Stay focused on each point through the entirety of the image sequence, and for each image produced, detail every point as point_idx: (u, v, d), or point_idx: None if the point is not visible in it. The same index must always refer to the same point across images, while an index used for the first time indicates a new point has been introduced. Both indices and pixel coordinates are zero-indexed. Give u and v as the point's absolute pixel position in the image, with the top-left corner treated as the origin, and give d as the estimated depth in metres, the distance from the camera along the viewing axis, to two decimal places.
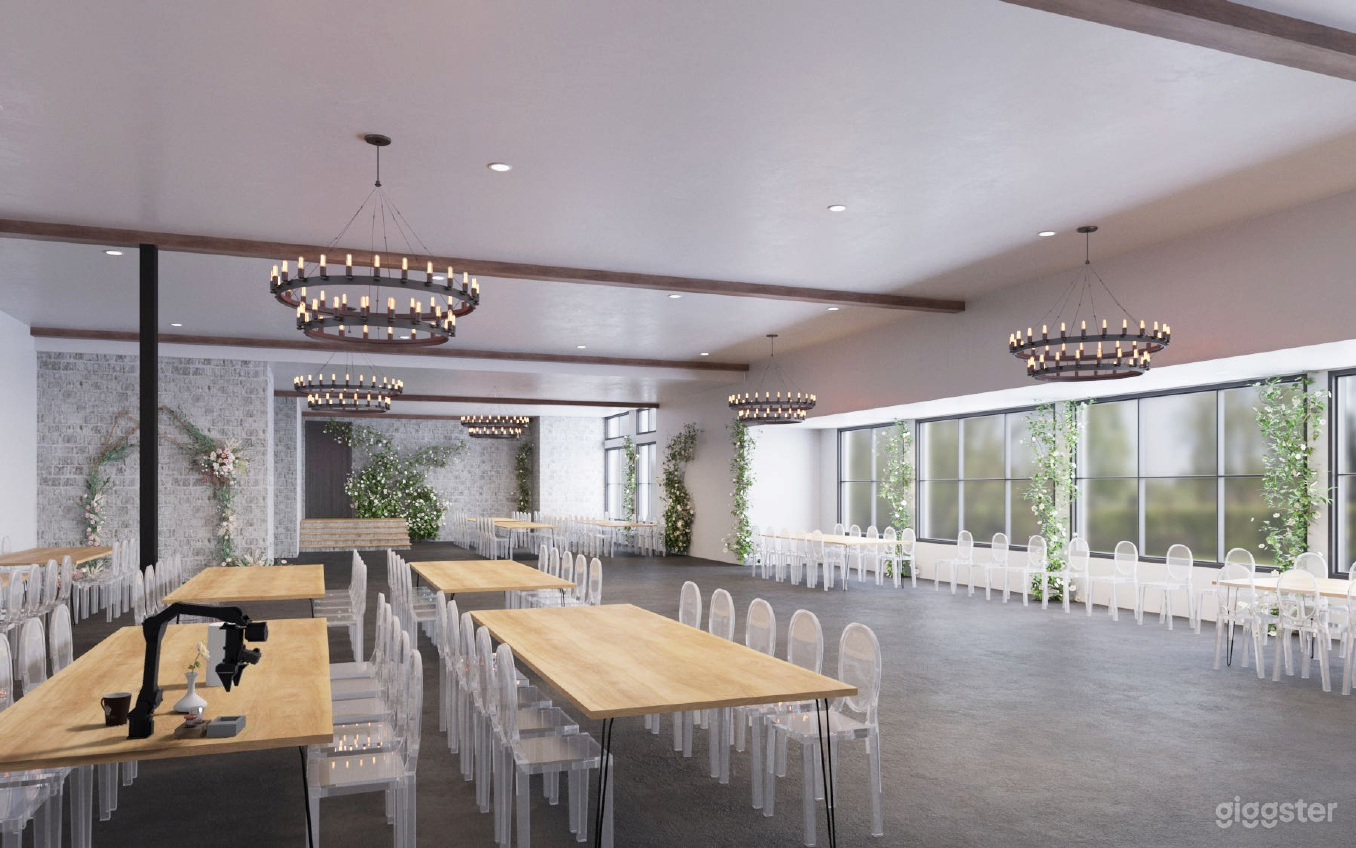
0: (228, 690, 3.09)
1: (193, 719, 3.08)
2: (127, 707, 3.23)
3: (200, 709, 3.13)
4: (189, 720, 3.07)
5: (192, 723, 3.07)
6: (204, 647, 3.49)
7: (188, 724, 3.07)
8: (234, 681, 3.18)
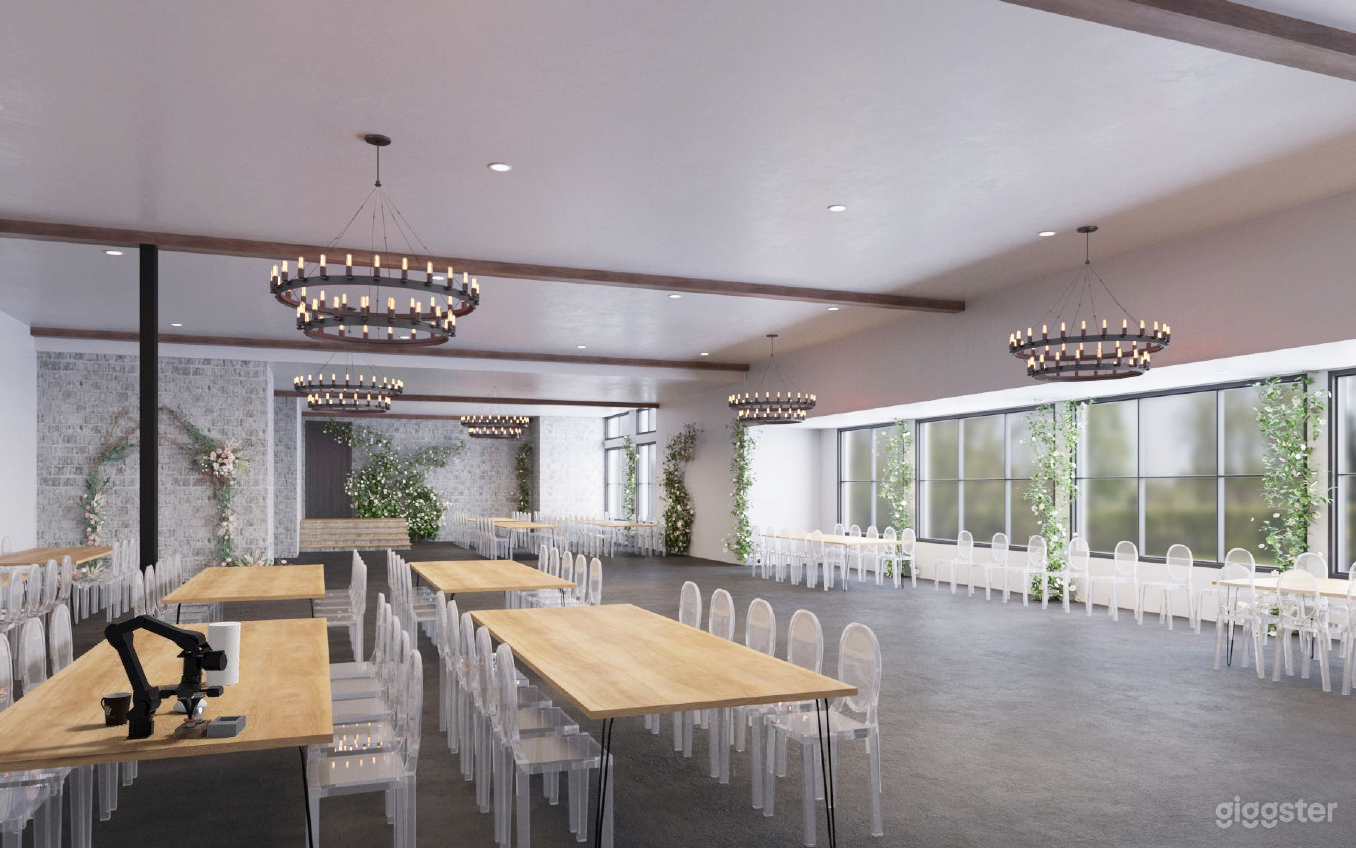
0: None
1: (193, 722, 3.08)
2: (127, 707, 3.23)
3: (200, 709, 3.13)
4: (189, 723, 3.07)
5: (192, 726, 3.07)
6: None
7: (188, 727, 3.07)
8: None
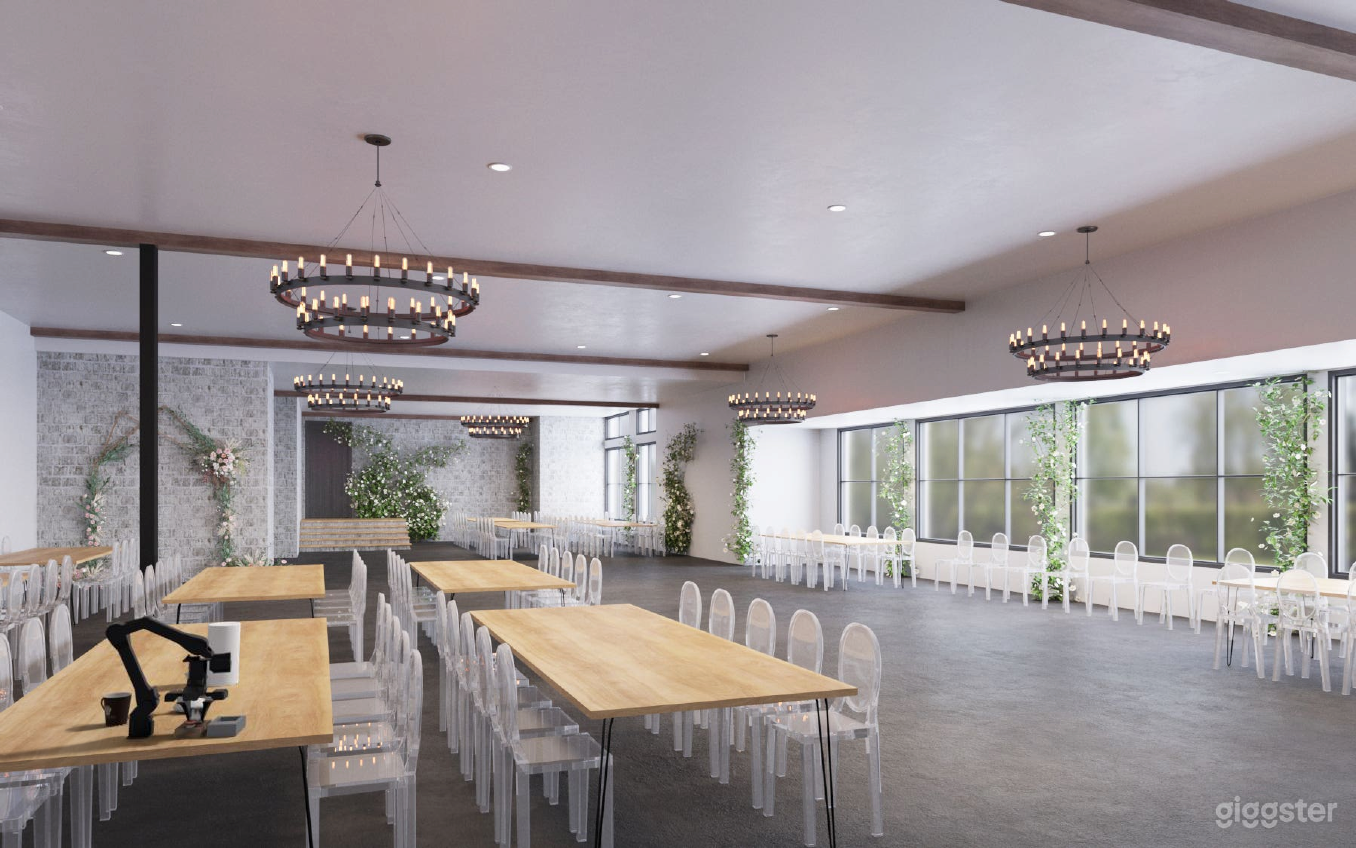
0: None
1: (193, 724, 3.08)
2: (127, 707, 3.23)
3: (200, 709, 3.13)
4: (189, 725, 3.07)
5: None
6: None
7: None
8: None
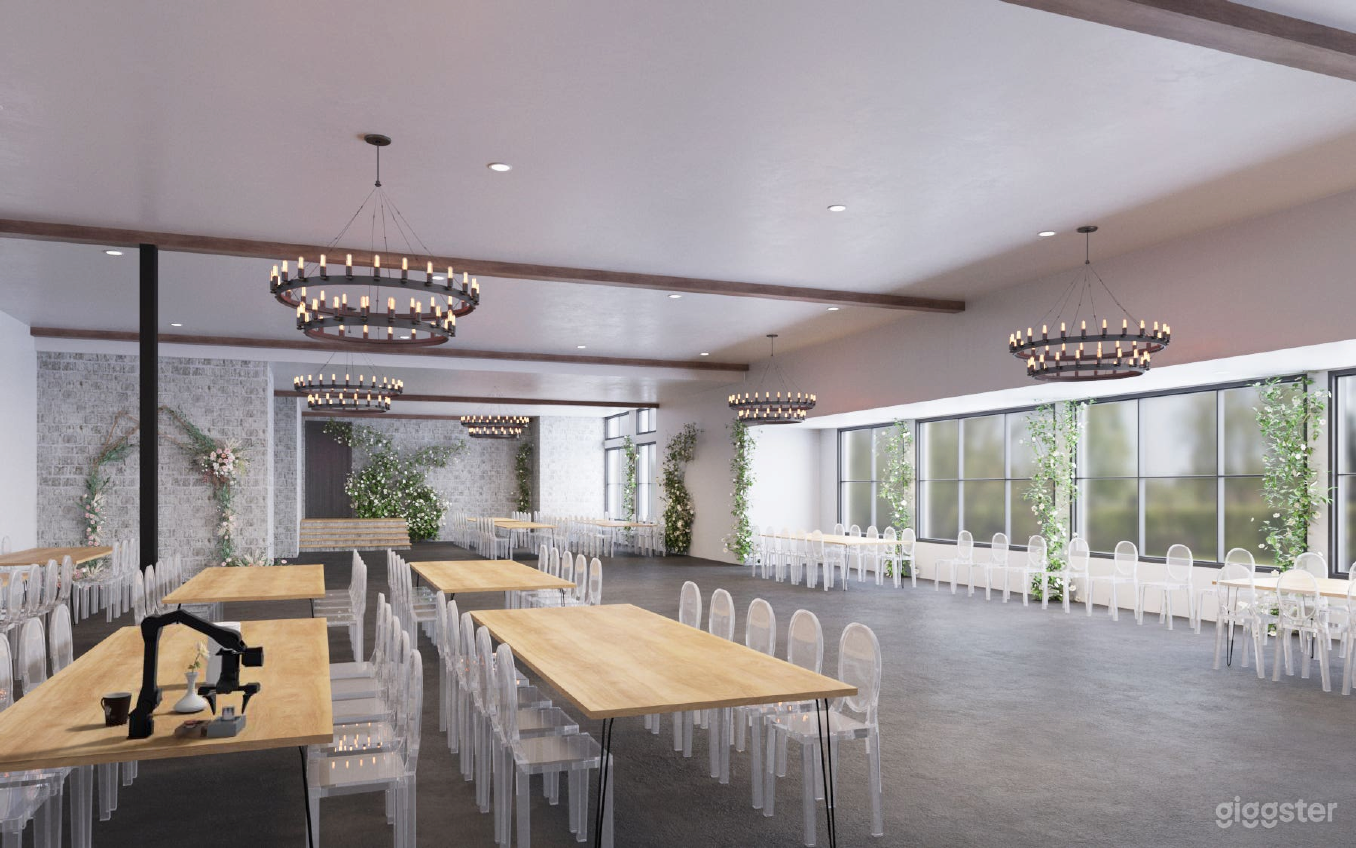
0: None
1: (193, 724, 3.08)
2: (127, 707, 3.23)
3: (232, 708, 3.14)
4: (189, 725, 3.07)
5: None
6: (204, 647, 3.49)
7: None
8: None
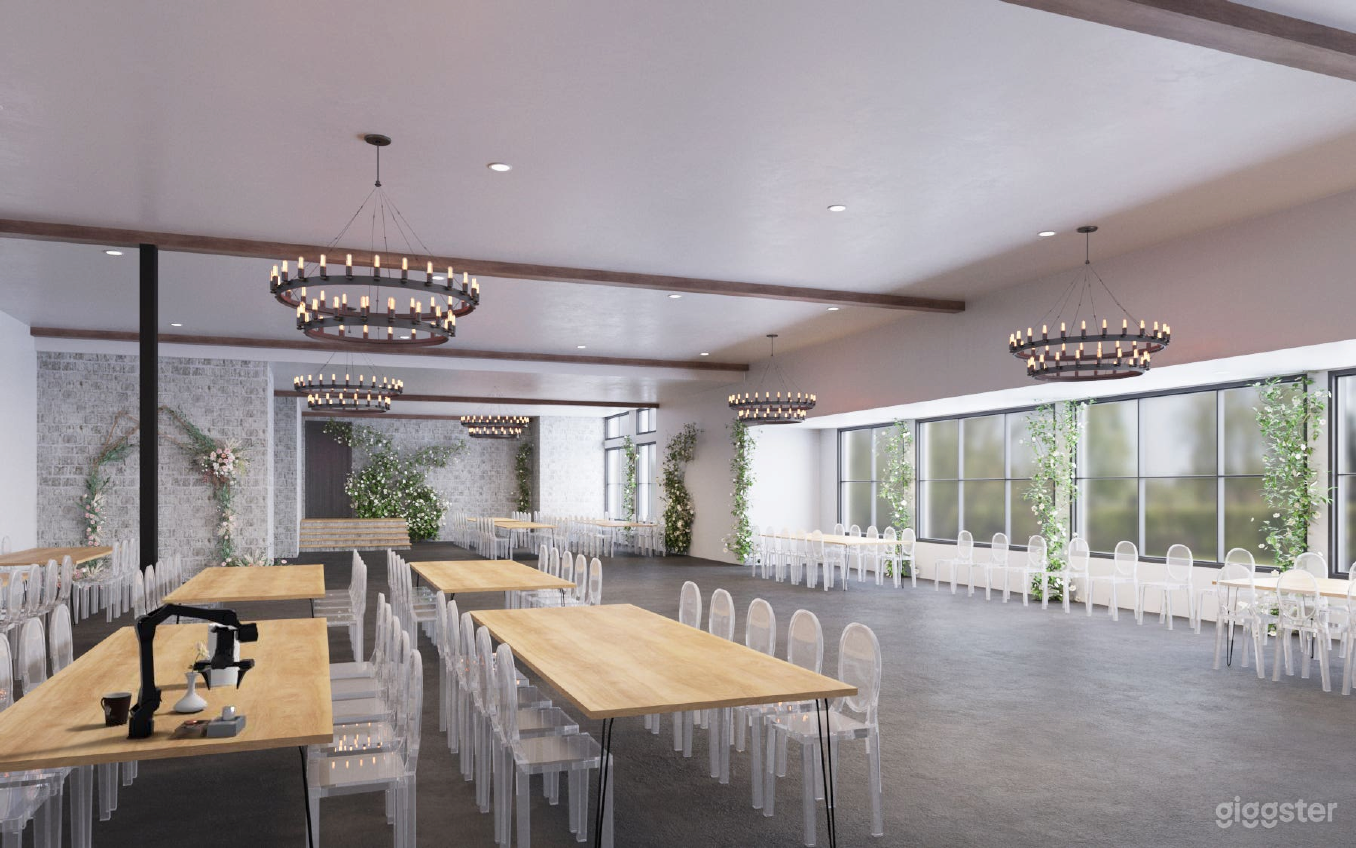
0: None
1: (193, 724, 3.08)
2: (127, 707, 3.23)
3: (232, 708, 3.14)
4: (189, 725, 3.07)
5: None
6: (204, 647, 3.49)
7: None
8: None
